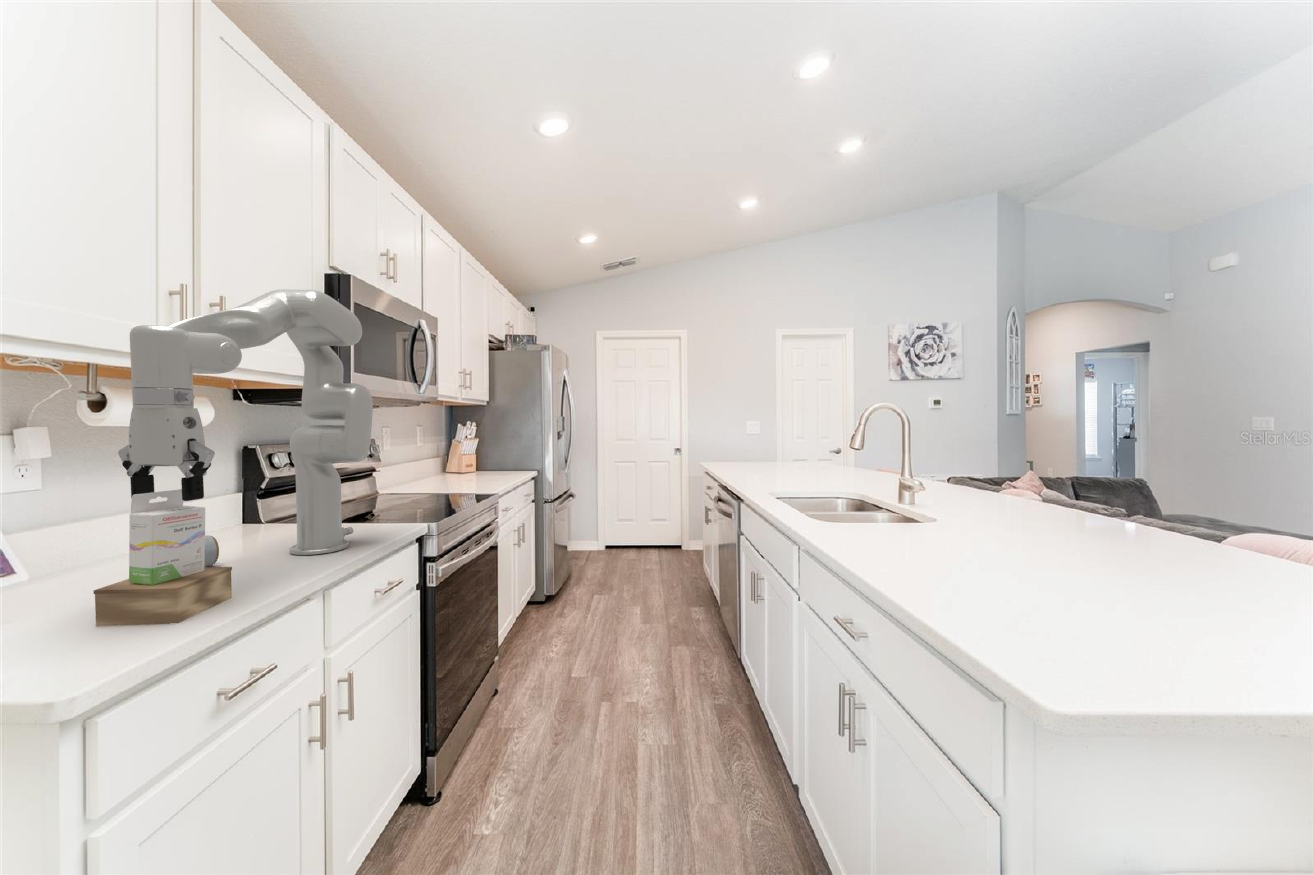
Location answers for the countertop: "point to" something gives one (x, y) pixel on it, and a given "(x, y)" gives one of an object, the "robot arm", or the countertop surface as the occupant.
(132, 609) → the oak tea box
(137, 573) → the ink box
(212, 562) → the ceramic mug
